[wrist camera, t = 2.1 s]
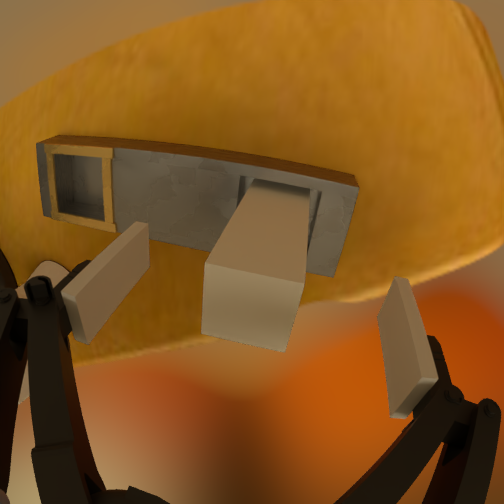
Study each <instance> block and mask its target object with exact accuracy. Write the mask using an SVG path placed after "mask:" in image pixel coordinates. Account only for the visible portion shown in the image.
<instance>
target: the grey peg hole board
mask: <svg viewBox="0 0 504 504" xmlns="http://www.w3.org/2000/svg"><path fill="white" fill-rule="evenodd" d="M36 149H37V163H38V174H39V184H40V193H41V200H42V208H43V214H44V216H47V217H51V218H52V219H55V220H59V221H64V222H68V223H73V224H77V225H82V226H86V227H91V228H95V229H100V230H104V231H109V232H113V233H116V232H119V233H123V232H124V231H125V230H127V229H128V228H129V227H130V226H131V225H132V224H133V223H135V222H136V221H138V222H143V223H148V227H149V239H152V240H156V241H161V242H166V243H170V244H175V245H180V246H184V247H189V248H194V249H198V250H203V251H208V252H211V251H212V250H213V248H214V246H215V244H216V243H217V241H218V239H219V238H220V236H221V234H222V232H223V231H224V229H225V227H226V226H227V224H228V222H229V220H230V219H231V217H232V215H233V214H234V212H235V210H236V209H237V207H238V205H239V204H240V202H241V200H242V199H243V197H244V195H245V194H246V192H247V190H248V189H249V187H250V185H251V184H252V182H253V180H254V179H255V178H258V179H263V180H268V181H274V182H279V183H284V184H289V185H294V186H299V187H304V188H309V189H310V202H309V224H308V242H307V259H306V272H309V273H314V274H318V275H323V276H328V277H334V274H335V271H336V268H337V264H338V261H339V258H340V255H341V251H342V248H343V245H344V241H345V238H346V235H347V231H348V228H349V224H350V221H351V217H352V214H353V210H354V206H355V203H356V199H357V195H358V191H359V186H358V183H357V181H356V179H355V176H354V175H351V174H347V173H342V172H338V171H334V170H329V169H325V168H320V167H315V166H311V165H306V164H301V163H296V162H291V161H286V160H280V159H275V158H270V157H264V156H258V155H252V154H246V153H240V152H234V151H227V150H220V149H213V148H206V147H199V146H191V145H183V144H174V143H165V142H155V141H145V140H133V139H120V138H106V137H87V136H60V135H57V136H55V137H52V138H49V139H46V140H43V141H41V142H38V143H36Z"/></svg>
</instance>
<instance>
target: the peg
mask: <svg viewBox="0 0 504 504" xmlns="http://www.w3.org/2000/svg"><path fill="white" fill-rule="evenodd" d="M309 202H310V189H309V188H304V187H299V186H294V185H289V184H284V183H279V182H274V181H268V180H263V179H258V178H255V179H254V180H253V182H252V184H251V185H250V187H249V189H248V190H247V192H246V194H245V195H244V197H243V199H242V200H241V202H240V204H239V205H238V207H237V209H236V210H235V212H234V214H233V215H232V217H231V219H230V220H229V222H228V224H227V226H226V227H225V229H224V231H223V232H222V234H221V236H220V238H219V239H218V241H217V243H216V244H215V246H214V248H213V250H212V251H211V253H210V255H209V256H208V258H207V260H206V262H205V269H204V286H203V304H202V326H201V334H205V335H209V336H213V337H217V338H221V339H225V340H230V341H234V342H238V343H243V344H247V345H252V346H256V347H261V348H266V349H271V350H275V351H280V352H285V350H286V347H287V343H288V340H289V337H290V334H291V330H292V327H293V324H294V320H295V317H296V313H297V310H298V306H299V303H300V299H301V296H302V292H303V289H304V285H305V274H306V259H307V242H308V224H309Z"/></svg>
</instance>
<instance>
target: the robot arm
mask: <svg viewBox="0 0 504 504" xmlns="http://www.w3.org/2000/svg"><path fill="white" fill-rule="evenodd" d="M149 267H150V258H149V227H148V223H143V222H138V221H136V222H135V223H133V224H132V225H131V226H130V227H129V228H128V229H127V230H125V231H124V232H123V233H122V234H121V235H120V236H119V237H118V238H116V239H115V240H114V241H113V242H112V243H111V244H110V245H109V246H108V247H107V248H105V249H104V250H103V251H102V252H101V253H100V254H99V255H98V256H97V257H96V258H95V259H94V260H92V261H90V260H86V261H84V262H82V263H80V264H78V265H77V266H76V267H75V268H74V269H73V270H72V272H70V273H69V274H67V276H65V277H64V278H63V279H62V280H61V281H60V282H59V283H58V284H57V285H56V286H55V287H54V288H53V286H52V282H51V279H50V278H49V277H47V276H43V275H42V276H35V277H32V278H31V279H29V280H28V281H27V282H26V283H25V285H24V290H25V293H26V296H27V299H25V298H19V297H18V294H17V292H16V290H15V289H17V285H16V282H15V279H14V276H13V274H12V271H11V269H10V267H9V265H8V263H7V261H6V259H5V258H4V256H3V254H2V253H1V251H0V504H10V501H9V499H8V497H7V495H6V493H7V487H8V483H9V476H10V466H11V454H12V444H13V434H14V428H15V420H16V414H17V408H18V402H19V397H20V392H21V387H22V382H23V377H24V372H25V368H26V364H27V359H28V379H29V394H30V406H31V415H32V423H33V431H34V438H35V448H33V449H32V451H31V457H32V463H33V468H34V473H35V478H36V483H37V487H38V491H39V496H40V500H41V503H42V504H170V503H168V502H166V501H165V500H163V499H161V498H160V497H158V496H155V495H152V494H150V493H147V492H144V491H142V490H139V489H137V488H134V487H132V486H129V487H128V490H118V489H116V490H106V488H105V485H104V483H103V481H102V479H101V477H100V475H99V473H98V471H97V467H96V464H95V461H94V457H93V454H92V451H91V447H90V443H89V440H88V436H87V432H86V429H85V425H84V420H83V416H82V412H81V407H80V402H79V397H78V392H77V387H76V382H75V377H74V370H73V364H72V358H71V351H70V343H69V339H68V335H69V333H70V332H71V331H72V332H73V335H74V338H75V340H77V341H80V342H82V343H85V344H87V345H89V343H90V342H91V341H92V339H93V338H94V337H95V335H96V334H97V333H98V331H99V330H100V329H101V327H102V326H103V325H104V324H105V322H106V321H107V320H108V318H109V317H110V316H111V314H112V313H113V312H114V311H115V309H116V308H117V307H118V306H119V304H120V303H121V302H122V300H123V299H124V298H125V297H126V295H127V294H128V293H129V292H130V290H131V289H132V288H133V287H134V285H135V284H136V283H137V282H138V281H139V279H140V278H141V277H142V276H143V274H144V273H145V272H146V271H147V270H148V268H149ZM377 319H378V325H379V331H380V337H381V344H382V351H383V358H384V366H385V374H386V382H387V391H388V400H389V410H390V418H403V419H405V418H406V417H408V415H409V414H410V413H411V412H412V411H413V418H414V419H413V420H412V421H411V422H410V423H409V424H408V425H407V426H406V427H405V428H404V429H403V431H402V433H401V434H400V435H399V437H398V438H397V439H396V440H395V441H394V442H393V444H392V445H391V446H390V447H389V448H388V449H387V450H386V452H385V453H384V454H383V455H382V456H381V457H380V458H379V459H378V461H376V463H375V464H374V465H373V466H372V467H371V468H370V469H369V470H368V471H367V472H366V473H365V474H364V475H363V476H362V477H361V478H360V479H359V480H358V481H357V482H356V483H355V484H354V485H353V486H352V487H351V488H350V489H349V490H348V491H347V492H346V493H345V494H344V495H342V496H341V497H340V498H339V499H338V500H337V501H336V502H335V503H334V504H396V503H397V502H398V501H399V500H400V499H401V497H402V496H403V495H404V493H405V492H406V491H407V490H408V489H409V487H410V486H411V485H412V483H413V482H414V481H415V480H416V478H417V477H418V476H419V474H420V473H421V471H422V470H423V468H424V467H425V466H426V464H427V463H428V462H429V460H430V459H431V457H432V456H433V454H434V453H435V451H436V450H437V448H438V447H439V445H440V444H441V442H444V445H443V448H442V451H441V455H440V457H439V460H438V463H437V466H436V469H435V472H434V474H433V477H432V480H431V482H430V485H429V487H428V490H427V492H426V495H425V497H424V499H423V502H422V504H484V503H485V500H486V496H487V492H488V488H489V484H490V480H491V475H492V471H493V466H494V461H495V455H496V450H497V443H498V437H499V430H500V422H501V410H500V408H499V406H498V405H497V403H496V402H494V401H493V400H492V399H488V398H486V399H483V400H481V401H480V402H479V403H478V404H475V403H472V402H469V401H467V400H465V399H464V395H463V393H462V392H461V390H460V389H459V388H458V387H456V386H454V385H452V383H451V379H450V375H449V372H448V368H447V365H446V362H445V358H444V355H443V352H442V348H441V345H440V343H439V342H438V341H437V339H436V338H435V337H434V336H429V335H426V332H425V328H424V325H423V322H422V319H421V316H420V313H419V310H418V307H417V304H416V301H415V298H414V295H413V292H412V289H411V286H410V283H409V281H408V279H406V278H401V277H396V276H395V277H394V280H393V282H392V284H391V287H390V289H389V291H388V294H387V296H386V298H385V301H384V303H383V305H382V307H381V309H380V311H379V314H378V316H377Z"/></svg>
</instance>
